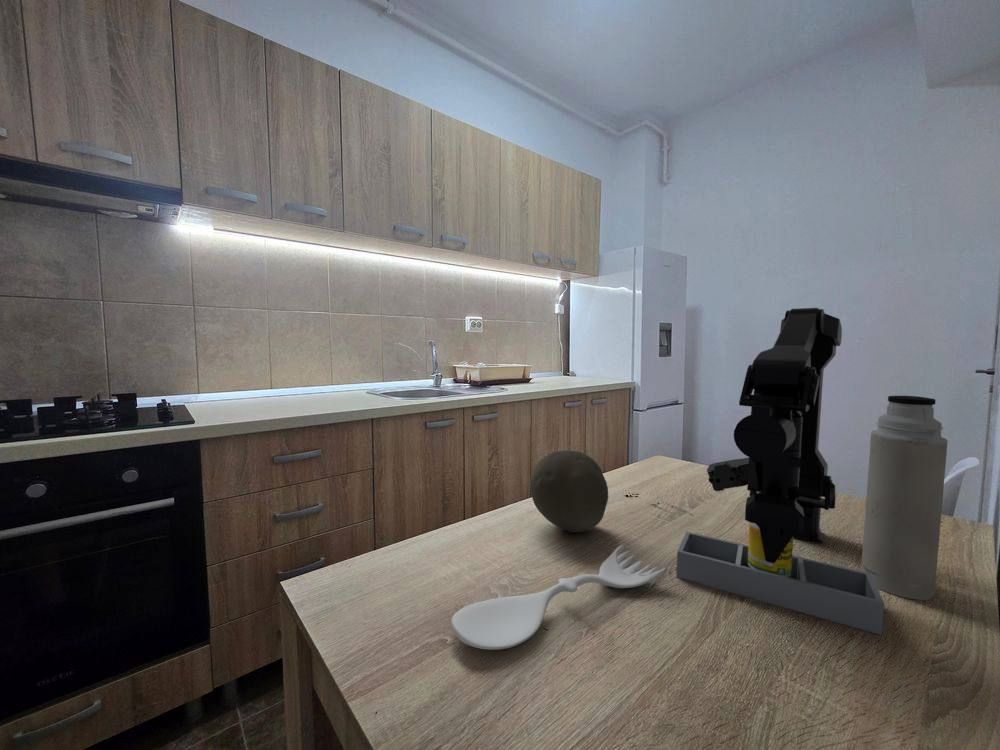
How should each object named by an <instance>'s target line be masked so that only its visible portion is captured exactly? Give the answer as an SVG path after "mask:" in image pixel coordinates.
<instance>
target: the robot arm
mask: <svg viewBox="0 0 1000 750" xmlns="http://www.w3.org/2000/svg"><path fill="white" fill-rule="evenodd" d="M841 323H842V322H841V320H840V319H839V317H835V316H833V315H830V314H827V313H825V310H824V309H823V308H819V307H806V308H805V307H804V308H803V307H802V308H791V309H789V310H786V312H785V315H784V318H783V319H781V323H780V328H779V329H780V330H779V334H778V335H777V338H776V340H775V342H774V345H773V347H771V348H769V349H766V350H763V351H760V352H759V353H758V354H757V356H756V357H755V358H754V359H753V361H752V364H749V365H748V367H747V369H746V373H745V377H744V382H743V386H742V389H741V395H740V396H739V397H740V398H739V403H738V405H739V406H740V407H741V406H742V407H751V410H750V414H749V415H747V416H745V417H743V418H742V419H740V420H739V421H738V423H737V424H736V427H735V428H734V430H733V439H734V443H735V445H736V448H737V449H738V450H739V452H741V453H742V454H743V455H745V456H746V457H744V458H735V459H728V460H725V461H717V462H713V463H711V464H710V463H709V465H708V467H707V469H706V472H707V475H708V482H709V483H710V484H711V486H712V489H713V491H714V492H721V491H724V490H726V489H732V488H740V487H746V486H747V487H746V490H747V491H749V496H748V497H747V498H746V502H745V511H744V512H745V514H744V520H745V521H747V522H748V523H749V524H750V523H755V524H756V525H758V527H759V529H760V534H761V539H762V544H763V550H764V555H765V560H766V561H767V562H771V563H775V562H776V561H777V559H778V558H779V556H780V555H781V553H782V552H783V550H784V549H785V547H786V546H787V544H788V543H789V541H790V540H791V539H792V537H793V539H794V538H796V539H800V540H805V541H809V542H815V543H818V544H819V543H820V544H823V543H824V537H823V533H822V531H821V528H820V527H821V511H822V510H821V509H823V510H827V511H829V510H830V509H833V510H834V509H835V508H836V499H837V498H836V494H837V493H836V485H835V484H834V483H833V480H832V476H831V475H828V473H829V472H828V470H829V469H828V468H829V467H828V466H829V465H828V463H827V461H826V459H825V458H824V457H823V455H822V453H821V451H820V450H819V441H820V440H819V439H820V429H821V428H820V427H821V426H820V425H821V412H822V397H823V396H822V395H823V394H822V393H823V381H824V370H825V368H826V367H827V366H828V365H829V364H830V362H831V361H832V360H833V359H834V358H835V357H836V353H837V347H840V346H841V344H842V336H843V332H842V331H843V330H842V329H843V328H842V324H841Z"/></svg>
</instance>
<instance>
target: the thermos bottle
mask: <svg viewBox="0 0 1000 750" xmlns="http://www.w3.org/2000/svg"><path fill="white" fill-rule="evenodd" d="M887 401H888V404H887V406H886V413H885V414H883V415H881V416H878V418H877V419H878V420H877V423H876V426H877V429H875V430H871V432H870V443H869V458H868V471H867V483H866V497H865V510H864V511H865V513H864V523H863V525H864V526H863V536H862V538H863V540H862V551H861V552H862V553H861V563H860V564H861V566H860V571H863V572H867V573H871V575H872V578H873V580H874V582H875V584H876V587H877V589H878V590H881V591H883V592H886V593H888V594H891V595H894V596H897V597H901V598H902V597H903V598H906V599H912V600H918V601H919V600H920V601H921V600H922V601H926V600H931V599H933V598H934V597H935V593H936V584H937V583H936V581H937V570H938V558H939V547H940V534H941V522H942V514H943V513H942V512H943V501H944V500H943V499H944V498H943V497H944V487H945V477H946V467H947V466H946V464H947V453H948V451H947V450H948V442H949V441H948V439H947V438H945V437H942V430H943V429H944V428H943V426H942V423H941V422H940V421H939V420H937V419H936V418H934V415H935V413H934V412H935V410H934V409H935V408H934V405H936V399H935V398H931V397H925V396H917V395H916V396H915V395H888V396H887Z"/></svg>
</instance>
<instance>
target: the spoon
mask: <svg viewBox="0 0 1000 750" xmlns="http://www.w3.org/2000/svg"><path fill="white" fill-rule="evenodd" d="M625 547H626V546H625V544H620V545H619V546H617V547H616V548H615V549H614V550H613V551H612V553H611V554H610V555H609V556H608V557H607V558H606V559H605V560H604V561H603V562H602V563H601V565H600V568H599V571H598V574H592V573H591V574H590V573H585V574H579V575H577V576H573V577H569V578H568V577H561V578H559V579H558V580H557V584H555V585H553V586H551V587H549V588H547V589H545V590H543V591H539V592H535V593H529V594H521V595H513V596H502V597H496V598H492V599H487V600H484V601H480V602H479V601H478V602H476V603H471V604H468V605H466V606H464V607H462V608H460V609H459V610H457V611H456V612H455V613H454V614H453V615H452V618H451V620H450V621H451V622H450V623H451V627H452V631H453V634H454V635H455V636H456V637H457V639H459V641H460V642H462V643H464V644H465V645H467V646H470V647H472V648H477V649H479V650H480V649H481V650H488V651H489V650H491V651H494V650H495V651H496V650H504V649H510V648H512V647H513V648H514V647H515V646H518V645H520V644H523V643H524V642H525V641H527V640H529V639H530V638H531V637H532V636H533V635H534V634H535V633H536V632H537V631H538V630H539V628H540V626H541V625H542V623H543V621H544V618H545V616H546V615H545V614H546V612H547V608H548V605H549V603H550V601H552V599H553V598H554V597H555V596H557V595H559V594H560V593H563V592H564V593H565V592H567V593H575V592H577V590H578V588H579V587H581V586H582V585H583V586H584V585H585V584H591V583H592V584H599V585H603V586H606V587H611V588H615V589H629V588H636V587H639V586H643V585H645V584H648V583H650V582H653V581H655V580H657V579H660V578H663V577H664V576H665V575H666V574H667V573H668V571H669V569H668V567H664V568H662V569H659V566H655V567H653V568H652V566H653V565H652V564H648V565H646V566H645V567H643V568H642V569H640V568H641V567H642V566H643V565H642V564H643V560H639V561H637V562H634V564H632V565H630V564H631V563H632V562H633V560H634V559H635V557H636V555H631V556H630V557H628V556H629V555H630V552H631V551H630V550H626V551H624V550H625ZM623 551H624V552H623ZM622 552H623V553H622ZM627 557H628V558H627ZM629 565H630V566H629ZM639 569H640V570H639Z"/></svg>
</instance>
